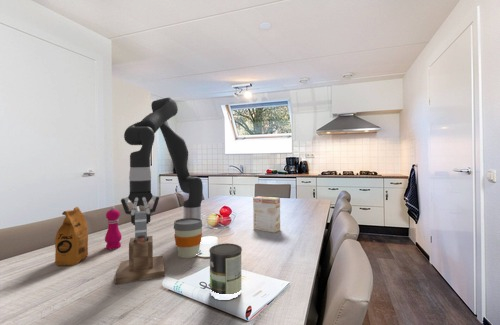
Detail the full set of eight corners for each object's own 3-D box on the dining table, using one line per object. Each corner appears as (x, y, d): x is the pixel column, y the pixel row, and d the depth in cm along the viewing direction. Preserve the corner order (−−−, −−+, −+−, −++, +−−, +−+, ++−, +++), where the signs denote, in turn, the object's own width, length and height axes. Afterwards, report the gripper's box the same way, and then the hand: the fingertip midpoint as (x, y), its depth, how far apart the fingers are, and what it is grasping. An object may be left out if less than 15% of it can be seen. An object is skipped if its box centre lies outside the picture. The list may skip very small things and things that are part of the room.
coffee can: (208, 302, 77) (208, 255, 77) (210, 285, 87) (210, 243, 87) (243, 300, 78) (242, 253, 77) (241, 283, 88) (240, 242, 88)
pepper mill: (114, 250, 121) (114, 208, 121) (101, 249, 122) (100, 207, 122) (125, 245, 128) (124, 205, 128) (112, 244, 130) (111, 204, 129)
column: (147, 256, 101) (146, 210, 101) (147, 260, 97) (146, 212, 97) (136, 257, 99) (135, 211, 99) (135, 261, 96) (134, 213, 95)
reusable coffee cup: (207, 251, 119) (207, 218, 119) (193, 261, 107) (192, 225, 107) (184, 248, 123) (184, 217, 123) (168, 257, 111) (167, 223, 111)
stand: (162, 260, 109) (162, 228, 108) (164, 276, 94) (164, 239, 94) (120, 266, 103) (120, 232, 103) (115, 284, 88) (114, 244, 88)
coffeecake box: (280, 230, 153) (280, 197, 153) (275, 233, 147) (275, 199, 147) (259, 226, 161) (258, 195, 161) (253, 229, 155) (252, 197, 155)
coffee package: (50, 267, 102) (49, 212, 102) (68, 255, 115) (67, 206, 114) (76, 266, 103) (75, 211, 103) (92, 254, 116) (91, 206, 116)
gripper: (159, 177, 104) (160, 220, 104) (120, 179, 99) (121, 223, 99) (160, 179, 97) (160, 224, 97) (118, 180, 92) (118, 228, 92)
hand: (140, 223), depth 98 cm, fingers closed on column, 4 cm apart
